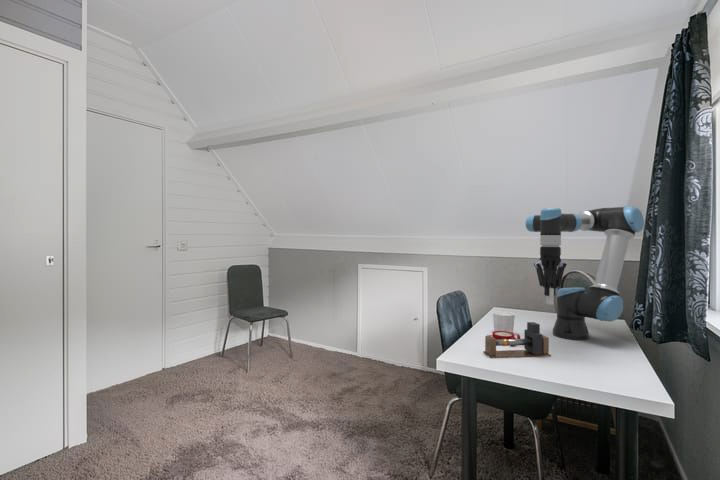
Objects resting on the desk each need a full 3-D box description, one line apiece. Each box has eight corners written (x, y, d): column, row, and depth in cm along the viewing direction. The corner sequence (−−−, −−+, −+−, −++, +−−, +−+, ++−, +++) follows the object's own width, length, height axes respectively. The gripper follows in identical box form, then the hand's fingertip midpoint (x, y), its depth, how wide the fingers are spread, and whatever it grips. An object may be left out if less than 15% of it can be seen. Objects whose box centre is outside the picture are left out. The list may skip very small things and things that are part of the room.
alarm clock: (494, 329, 176) (526, 328, 166) (497, 343, 175) (529, 342, 165) (484, 334, 168) (517, 332, 158) (487, 348, 167) (520, 347, 157)
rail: (540, 350, 155) (541, 333, 155) (551, 356, 148) (551, 338, 148) (483, 352, 152) (483, 335, 152) (490, 358, 145) (491, 340, 145)
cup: (489, 333, 181) (489, 313, 181) (497, 329, 189) (497, 310, 189) (510, 337, 175) (510, 316, 175) (517, 333, 182) (517, 313, 182)
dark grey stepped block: (531, 348, 155) (531, 321, 155) (542, 354, 147) (542, 325, 147) (524, 348, 155) (524, 321, 154) (535, 354, 147) (535, 325, 146)
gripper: (559, 245, 155) (559, 302, 155) (529, 245, 154) (529, 302, 154) (571, 246, 148) (571, 305, 148) (540, 246, 146) (539, 306, 147)
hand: (549, 303), depth 151 cm, fingers closed
